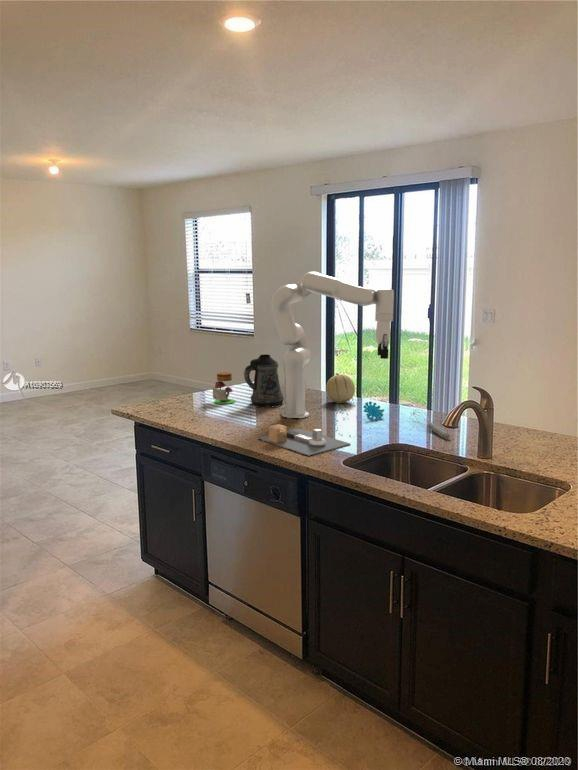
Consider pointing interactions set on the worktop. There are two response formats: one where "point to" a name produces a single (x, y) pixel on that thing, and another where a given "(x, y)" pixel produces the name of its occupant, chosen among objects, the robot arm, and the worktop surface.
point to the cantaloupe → (340, 388)
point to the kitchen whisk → (434, 428)
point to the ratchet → (309, 438)
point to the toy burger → (220, 393)
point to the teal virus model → (373, 411)
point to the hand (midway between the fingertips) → (382, 356)
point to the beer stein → (264, 382)
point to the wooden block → (277, 433)
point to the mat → (305, 447)
